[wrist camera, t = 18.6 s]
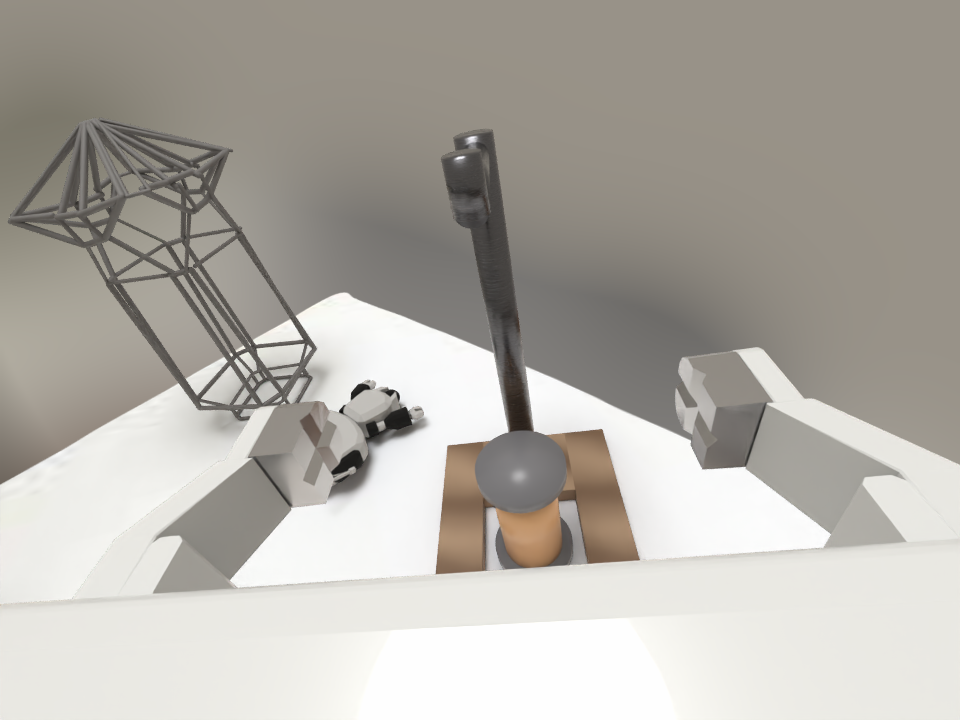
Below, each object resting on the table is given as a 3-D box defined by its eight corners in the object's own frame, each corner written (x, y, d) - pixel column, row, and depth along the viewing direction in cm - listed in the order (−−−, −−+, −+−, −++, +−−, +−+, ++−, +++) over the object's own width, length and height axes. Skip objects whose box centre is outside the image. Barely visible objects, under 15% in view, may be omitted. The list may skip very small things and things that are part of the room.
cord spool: (563, 595, 34) (554, 514, 27) (486, 572, 36) (460, 492, 30) (579, 522, 38) (574, 437, 32) (510, 506, 41) (492, 424, 34)
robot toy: (374, 393, 59) (270, 462, 50) (365, 366, 56) (254, 433, 48) (435, 430, 52) (325, 517, 43) (428, 400, 49) (310, 487, 41)
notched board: (647, 601, 32) (648, 592, 31) (437, 614, 34) (432, 606, 33) (602, 439, 45) (602, 429, 44) (450, 454, 47) (447, 445, 46)
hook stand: (549, 562, 34) (491, 153, 16) (519, 564, 35) (428, 164, 17) (535, 442, 44) (489, 104, 26) (512, 444, 45) (450, 112, 26)
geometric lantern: (299, 439, 53) (85, 121, 32) (191, 443, 56) (-66, 158, 35) (346, 357, 65) (213, 87, 44) (255, 365, 68) (91, 118, 47)
